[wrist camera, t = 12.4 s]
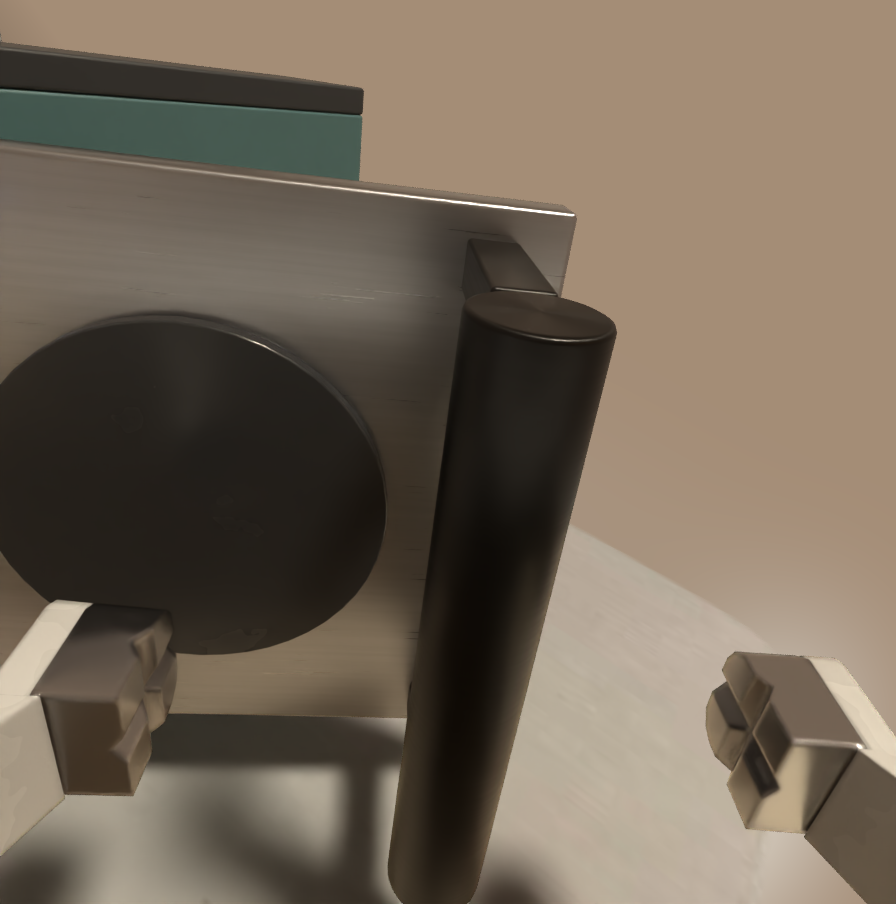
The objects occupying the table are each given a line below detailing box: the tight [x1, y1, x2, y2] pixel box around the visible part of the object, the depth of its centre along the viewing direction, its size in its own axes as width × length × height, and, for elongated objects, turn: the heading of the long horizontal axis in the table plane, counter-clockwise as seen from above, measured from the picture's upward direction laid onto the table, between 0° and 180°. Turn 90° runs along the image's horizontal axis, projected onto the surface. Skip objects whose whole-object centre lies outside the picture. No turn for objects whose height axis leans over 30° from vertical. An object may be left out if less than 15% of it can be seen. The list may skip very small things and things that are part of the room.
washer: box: [0, 34, 364, 181], centre depth 19 cm, size 11×11×15 cm
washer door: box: [0, 139, 617, 904], centre depth 10 cm, size 5×10×11 cm, turn 94°
